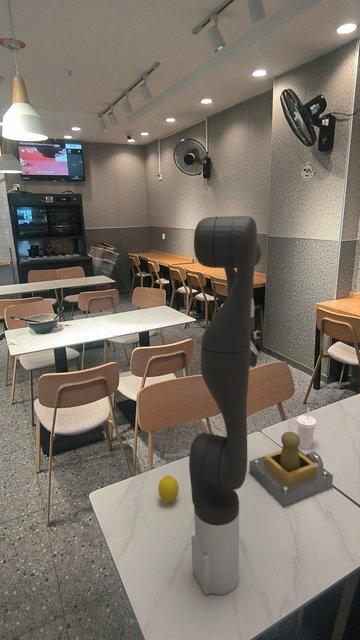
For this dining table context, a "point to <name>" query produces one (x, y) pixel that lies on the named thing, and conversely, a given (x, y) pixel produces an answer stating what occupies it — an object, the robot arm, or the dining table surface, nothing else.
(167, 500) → the lemon
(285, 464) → the olive pestle shaped cylinder
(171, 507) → the dining table surface
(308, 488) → the square socket fixture
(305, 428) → the smoothie
